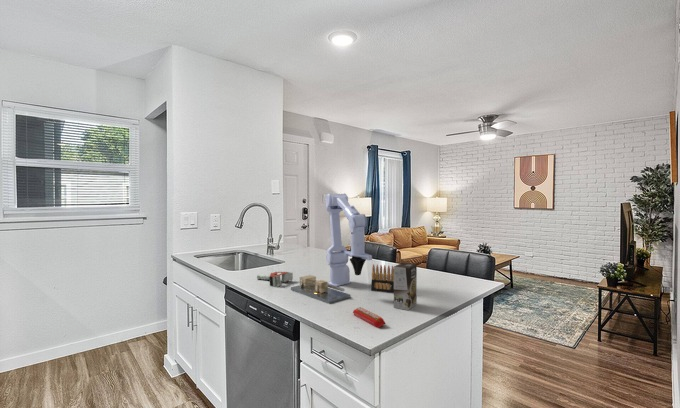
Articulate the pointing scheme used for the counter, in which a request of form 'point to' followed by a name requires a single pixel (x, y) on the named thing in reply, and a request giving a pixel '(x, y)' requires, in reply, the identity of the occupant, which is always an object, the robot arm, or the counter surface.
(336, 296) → the bolt plate
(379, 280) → the ammunition clip
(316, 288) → the trammel slider
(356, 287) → the counter surface
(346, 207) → the robot arm
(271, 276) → the tape dispenser
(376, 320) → the candy bar
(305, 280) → the trammel beam
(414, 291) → the coffee box
